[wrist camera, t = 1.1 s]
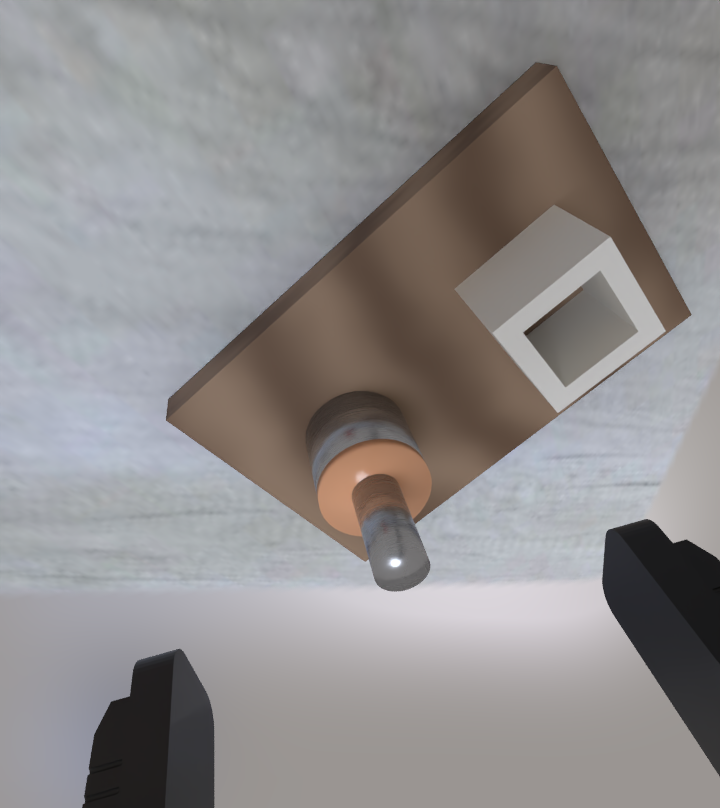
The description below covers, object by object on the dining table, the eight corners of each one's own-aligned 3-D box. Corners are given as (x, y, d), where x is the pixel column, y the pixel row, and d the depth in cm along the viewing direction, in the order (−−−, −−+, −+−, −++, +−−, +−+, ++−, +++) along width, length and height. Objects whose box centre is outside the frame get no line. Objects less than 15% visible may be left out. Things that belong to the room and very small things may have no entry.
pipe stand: (535, 62, 28) (717, 92, 18) (669, 300, 36) (844, 412, 26) (168, 399, 33) (149, 568, 23) (358, 539, 41) (405, 707, 31)
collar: (554, 204, 29) (610, 236, 25) (607, 290, 32) (665, 331, 28) (454, 289, 30) (492, 332, 26) (515, 363, 34) (557, 413, 29)
